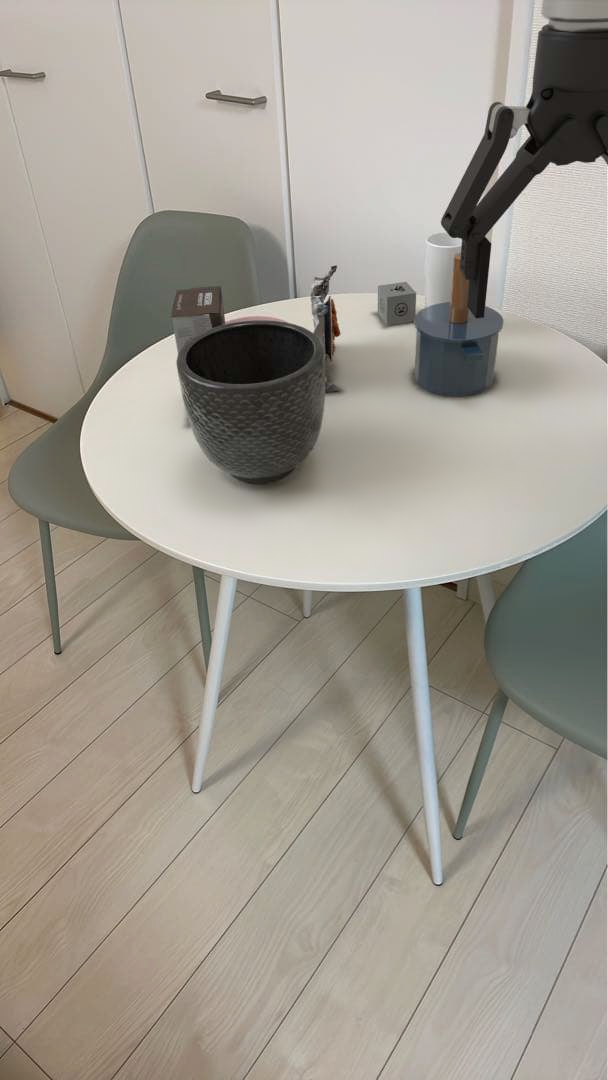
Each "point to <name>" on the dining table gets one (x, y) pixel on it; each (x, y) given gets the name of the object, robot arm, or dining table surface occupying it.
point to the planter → (254, 396)
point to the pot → (455, 365)
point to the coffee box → (196, 312)
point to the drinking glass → (439, 267)
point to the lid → (457, 316)
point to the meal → (325, 318)
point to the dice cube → (396, 303)
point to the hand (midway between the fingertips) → (548, 303)
